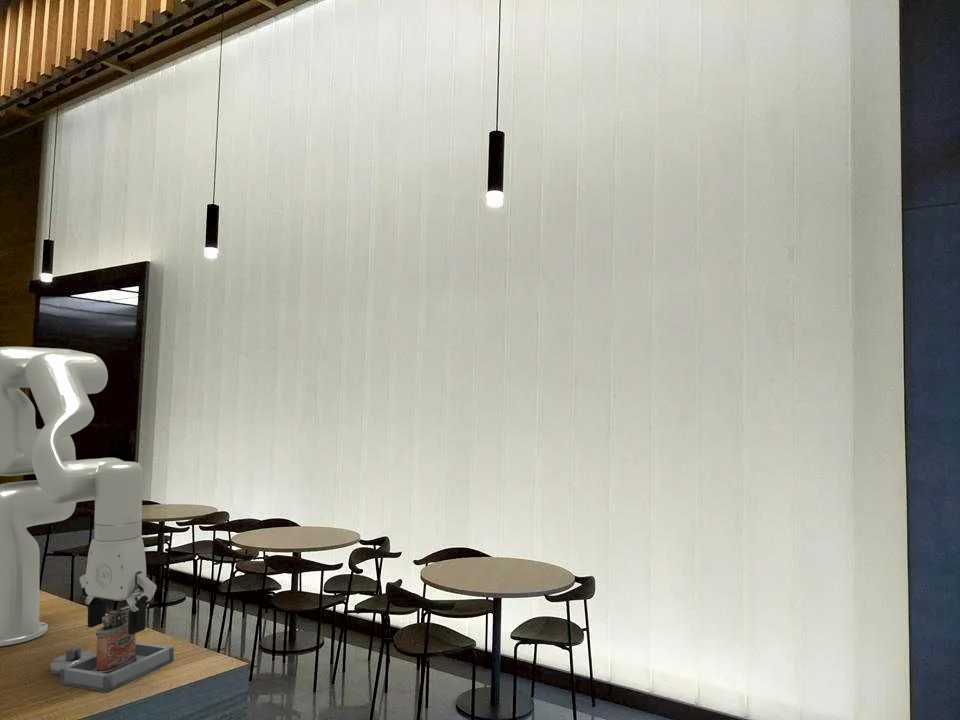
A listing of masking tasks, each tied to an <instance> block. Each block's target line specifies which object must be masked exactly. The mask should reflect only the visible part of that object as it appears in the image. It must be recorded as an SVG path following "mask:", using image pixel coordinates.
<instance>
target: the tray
mask: <svg viewBox="0 0 960 720" xmlns="http://www.w3.org/2000/svg"><path fill="white" fill-rule="evenodd" d="M174 653H175V649H174V646H168V645H162V644H161V645H160V644H155V643H154V644H153V643H147V642H139V641H135V655H137V661H136V662H134V663H131V664H129V665H127V666H125V667H122V668H120V669H118V670H116V671H113V672H111V673H109V674H106V673H100V672H96V669H97V653H95V655H93V656H91V657H88V658H86V659H83V660H81V661H79V662H76V663H74V664H71V665H69V666H66V667H64V668H61V669H60V676H59V685H63V686H67V687H68V686H69V687H75V688H80V689H85V690H90V691H91V690H92V691H97V692H102V693H109V692H111V691H113V690H116V689H118V688H120V687H122V686H124V685H126V684H129V683H130V682H133V681H135V680H137V679H139V678H141V677H143V676H145V675H147V674H149V673H151V672H153V671H156V670H157V669H160V668H162V667H164V666H165V665H166V666H167V665H169V664H171V663H173V662H174V660H175V659H174V658H175V657H174ZM172 661H173V662H172Z"/></svg>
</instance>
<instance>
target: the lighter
mask: <svg viewBox="0 0 960 720" xmlns="http://www.w3.org/2000/svg"><path fill="white" fill-rule="evenodd" d="M129 611H132V610H131V608H130V606H129V605H127V606H124V607H121V608H119V609H118V610H115V609H114V610H110V611H109V612H108V614H106V615H105V616H104V617H102V624H103V625H102V627H100V628H99V629H96V630H95V637H96V654H97V669H96V672H100V673H106V674H109V673H111V672H113V671H116V670H118V669H120V668H122V667H125V666H127V665H129V664H131V663H134V662H136V661H137V655H135V642H136V633H135V634H133V635H130V634H128V613H129Z"/></svg>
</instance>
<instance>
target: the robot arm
mask: <svg viewBox="0 0 960 720" xmlns="http://www.w3.org/2000/svg"><path fill="white" fill-rule="evenodd" d="M108 374H109V373H108V369H107V366H106V364H105V362H104V361H103V359H101V357H100V356H98V355H96V354H94V353H89V352H85V351H84V352H83V351H79V350H73V349H69V348H52V347H51V348H50V347H33V346H31V347H30V346H0V476H1V477H2V476H3V477H14V476H24V475H25V476H26V475H35V478H36V480H34V479H33V480H22V481H13V482H5V483H1V484H0V647H5V646H11V645H17V644H21V643H25V642H29V641H31V640H34V639H36V638H39V637H41V636H43V635H45V634H46V633H47V632H48V629H49V626H48V625H49V624H48V623H47V622H43V621H40V547H39V544H38V542H37V540H36V539H35V537H34V536H33V535H32V534H31V533H30V532H29V531H28V529H27V528H29V527H33V526H39V525H45V524H51V523H52V524H53V523H57V522H62V521H65V520H67V519H69V518H70V517H72V515H73V513H74V512H75V509H76V506H77V503H80V502H87V501H89V502H90V501H94V526H93V535H94V536H93V539H91V542H90V545H89V548H88V554H87V561H86V568H85V570H86V571H85V573H84V574H83V575H81V576H80V577H79V578H78V579H79V582H80V585H81V588H82V589H81V592H82V594H83V596H84V597H85V601H84V602H85V605H87V628H94V627H97V626H99V625H102V624H103V623H102V617H104V616H106V615H107V614H106V610H107V607H106V606H107V603H106V602H107V601H106V600H110V601H117V602H121V601H125V600H126V602H127V604H128V606H130V608H131V610H132V611H129V613H128V615H127V618H128V634H130V635H133V634H135V635H136V634H137V633H140V632H143V631H145V630H146V628H147V627H146V625H147V623H146V621H147V620H146V617H147V608H149V605H150V603H151V602H152V601H153V599H154V595H155V593H156V591H157V587H158V586H157V585H156V583H154V582H153V581H152V580H150V578H149V577H147V561H146V560H147V559H146V551H145V545H144V539H143V538H142V533H143V532H142V531H143V530H142V529H143V528H142V527H143V526H142V525H143V523H142V522H143V521H142V520H143V512H142V511H143V475H144V474H143V473H144V472H143V467H142V465H141V464H140V463H139V462H137V461H136V462H135V461H128V460H127V461H125V460H122V459H120V458H117V457H102V458H86V459H78V460H77V457H76V446H75V443H74V440H73V438H72V436H71V435H73V434H75V433H78V432H79V431H81V430H82V429H84V428H86V427H87V426H88V425H89V424H90V423H91V422H92V420H94V416H95V410H94V407H93V405H92V403H91V401H90V399H89V397H88V395H91V394H92V395H93V394H98V393H100V392H102V391H103V390H104V389H105V388H106V386H107V383H108V379H109V375H108ZM21 388H23V389H24V388H26V389H27V388H28V389H29V388H30V391H31V393H32V396H33V399H34V401H35V403H36V406H37V409H38V411H39V413H40V416H41V418H42V420H43V424H44V426H43V427H42V428H37V425H36V409H35V406H34V404H33V402H32V401H31V399H30V398H29V396H28V395H27V394H26V393H25V392H23V391H22V390H21ZM136 598H137V601H136Z"/></svg>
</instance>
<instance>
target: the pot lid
mask: <svg viewBox="0 0 960 720" xmlns="http://www.w3.org/2000/svg"><path fill="white" fill-rule="evenodd" d="M93 655H96V652H93V651H88V650H87V651H86V650H85V651H83V650H82V647H80V646H75V647H70V648H68V649H66V650H65V654H63V655H60V656H58V657H55V658H53V659H52V660H51V661H50V669H49V670H50V674H51V675H53V676H59V677H60V669H61V668H64V667H66V666H69V665H71V664H74V663H76V662H79V661H81V660H83V659H86V658H88V657H91V656H93Z"/></svg>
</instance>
